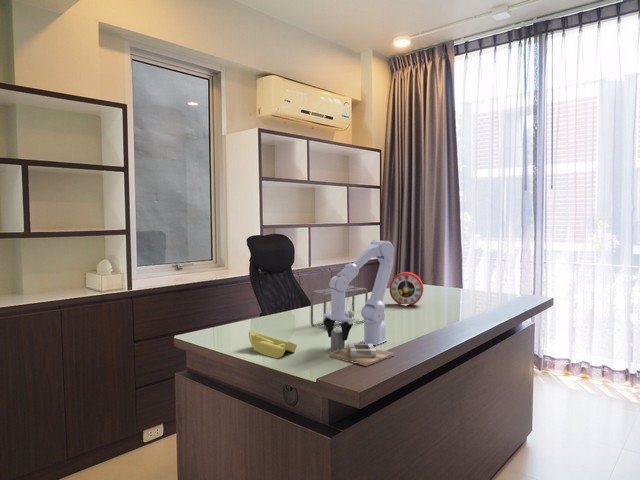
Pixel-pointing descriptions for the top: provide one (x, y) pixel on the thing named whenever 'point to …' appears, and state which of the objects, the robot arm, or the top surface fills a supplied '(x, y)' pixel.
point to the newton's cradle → (347, 314)
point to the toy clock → (406, 288)
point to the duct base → (360, 359)
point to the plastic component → (270, 345)
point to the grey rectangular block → (337, 339)
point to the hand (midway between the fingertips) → (337, 338)
